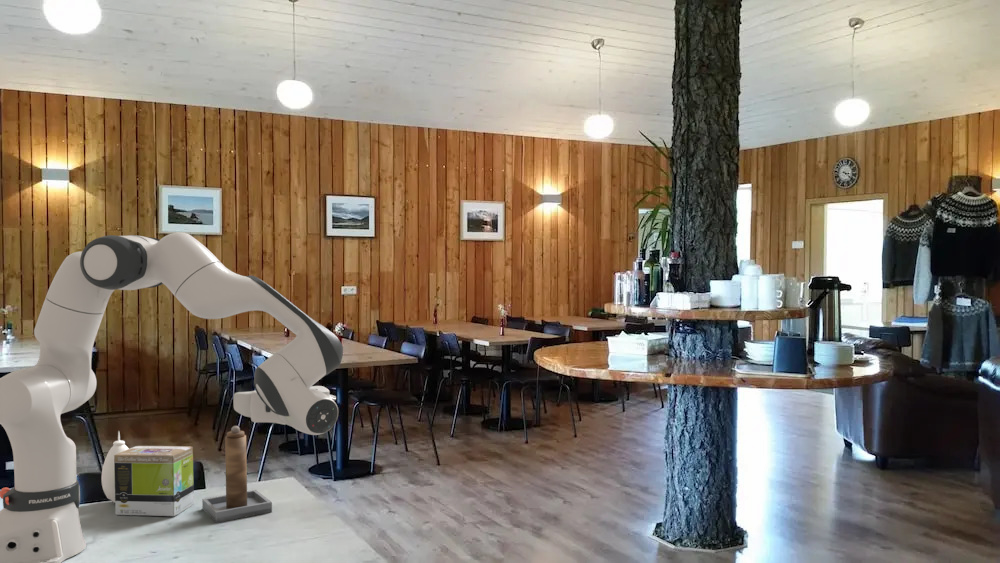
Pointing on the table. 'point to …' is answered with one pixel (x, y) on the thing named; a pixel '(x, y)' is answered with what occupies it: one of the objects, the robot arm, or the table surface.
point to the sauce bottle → (111, 468)
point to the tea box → (154, 480)
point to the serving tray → (254, 507)
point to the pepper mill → (236, 468)
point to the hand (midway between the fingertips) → (271, 393)
